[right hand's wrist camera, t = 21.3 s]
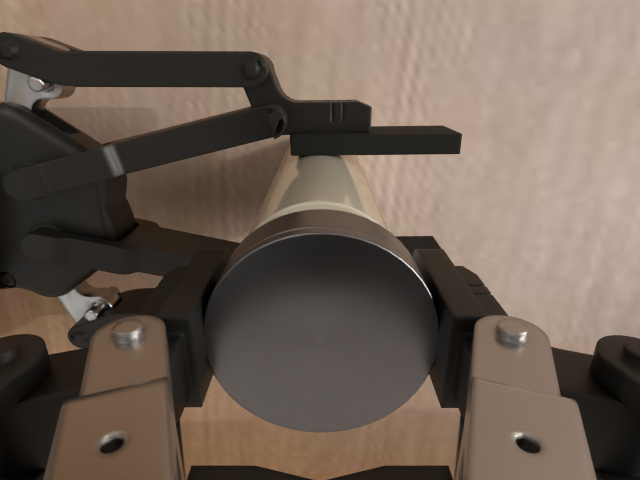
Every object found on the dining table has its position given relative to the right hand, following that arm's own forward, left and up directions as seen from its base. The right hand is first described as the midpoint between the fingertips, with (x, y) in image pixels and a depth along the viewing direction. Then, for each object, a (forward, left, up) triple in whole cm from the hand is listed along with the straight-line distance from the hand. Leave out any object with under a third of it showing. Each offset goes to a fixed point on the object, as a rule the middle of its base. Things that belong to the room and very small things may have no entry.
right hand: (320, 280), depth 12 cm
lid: (0, 0, +2) cm, 2 cm away
